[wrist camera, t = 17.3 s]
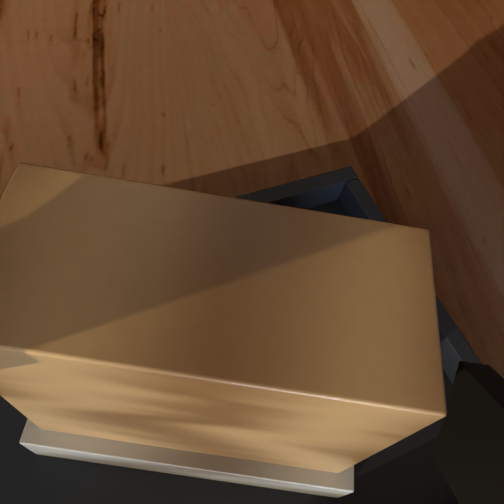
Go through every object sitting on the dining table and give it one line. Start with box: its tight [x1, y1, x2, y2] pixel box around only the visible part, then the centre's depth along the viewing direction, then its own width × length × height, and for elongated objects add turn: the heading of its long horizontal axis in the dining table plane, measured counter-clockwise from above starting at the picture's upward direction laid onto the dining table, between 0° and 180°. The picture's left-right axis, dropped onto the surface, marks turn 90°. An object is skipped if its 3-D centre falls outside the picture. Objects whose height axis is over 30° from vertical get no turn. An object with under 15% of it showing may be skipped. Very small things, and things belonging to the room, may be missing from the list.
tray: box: [0, 166, 482, 504], centre depth 18 cm, size 16×28×2 cm, turn 113°
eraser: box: [0, 163, 447, 498], centre depth 15 cm, size 11×6×10 cm, turn 83°
